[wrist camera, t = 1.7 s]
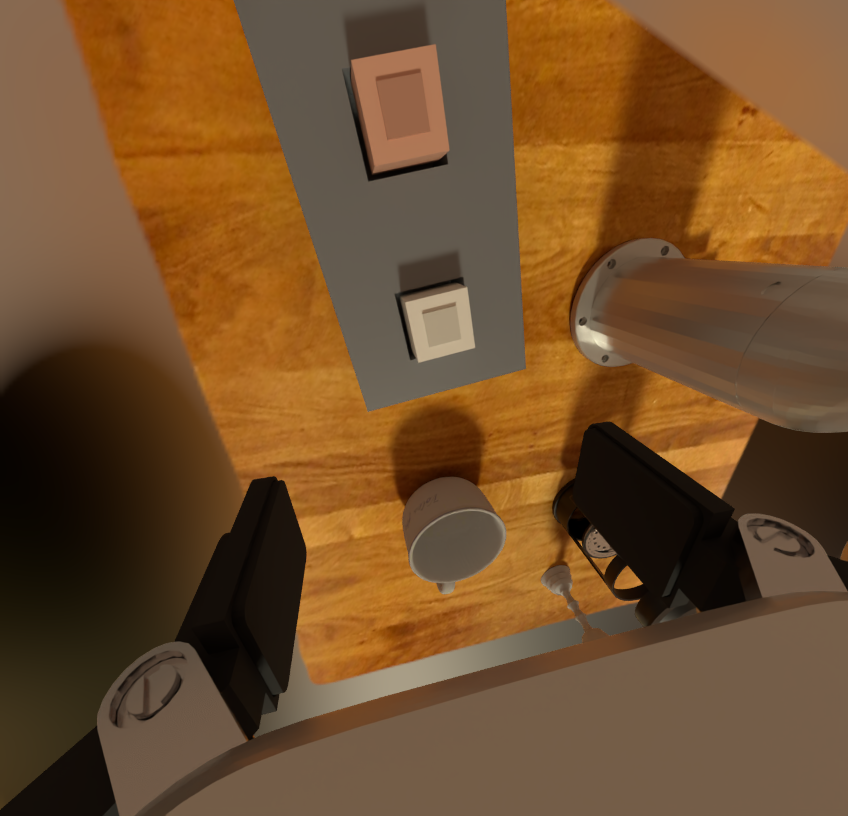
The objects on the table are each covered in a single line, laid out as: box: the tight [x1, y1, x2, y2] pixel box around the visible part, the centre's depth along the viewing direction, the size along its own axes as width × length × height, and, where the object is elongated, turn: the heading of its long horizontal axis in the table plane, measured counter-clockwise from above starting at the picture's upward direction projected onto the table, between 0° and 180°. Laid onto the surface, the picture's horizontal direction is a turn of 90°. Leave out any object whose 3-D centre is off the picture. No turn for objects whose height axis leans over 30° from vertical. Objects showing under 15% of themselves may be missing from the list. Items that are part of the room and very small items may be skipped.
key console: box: [234, 0, 526, 412], centre depth 25 cm, size 14×24×6 cm, turn 12°
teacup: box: [403, 477, 506, 594], centre depth 39 cm, size 14×11×8 cm
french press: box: [552, 479, 697, 627], centre depth 37 cm, size 12×9×23 cm
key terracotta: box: [351, 44, 449, 175], centre depth 19 cm, size 4×4×3 cm
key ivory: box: [400, 282, 475, 363], centre depth 25 cm, size 4×4×3 cm
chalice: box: [541, 565, 609, 643], centre depth 46 cm, size 7×7×18 cm
